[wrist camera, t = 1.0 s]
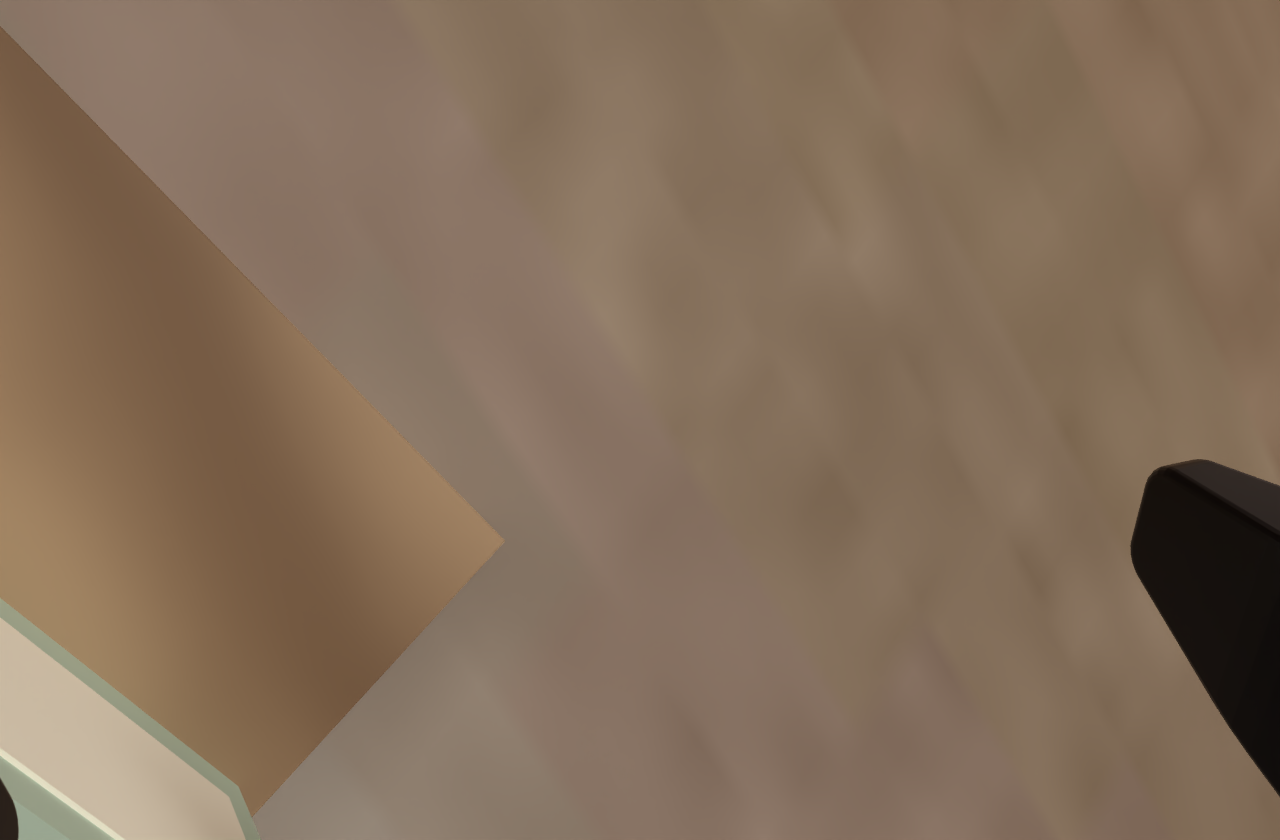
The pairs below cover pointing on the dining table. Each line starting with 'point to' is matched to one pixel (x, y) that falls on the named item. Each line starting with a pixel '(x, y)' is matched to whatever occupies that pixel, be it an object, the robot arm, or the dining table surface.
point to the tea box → (98, 755)
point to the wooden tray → (194, 464)
